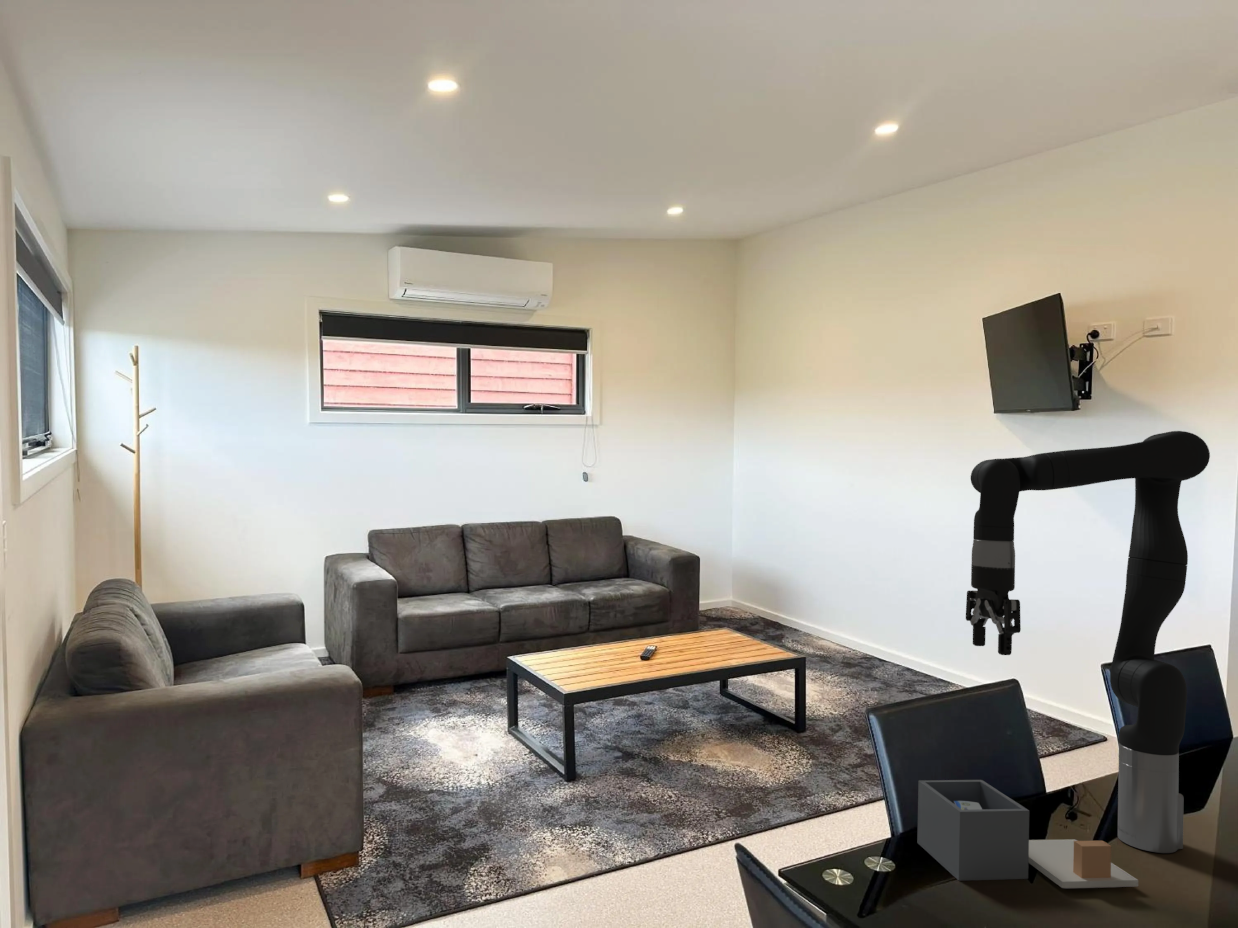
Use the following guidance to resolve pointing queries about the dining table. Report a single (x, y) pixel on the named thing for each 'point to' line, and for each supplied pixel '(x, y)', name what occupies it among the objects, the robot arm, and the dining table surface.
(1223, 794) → the dining table surface
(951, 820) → the tub
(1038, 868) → the lid
